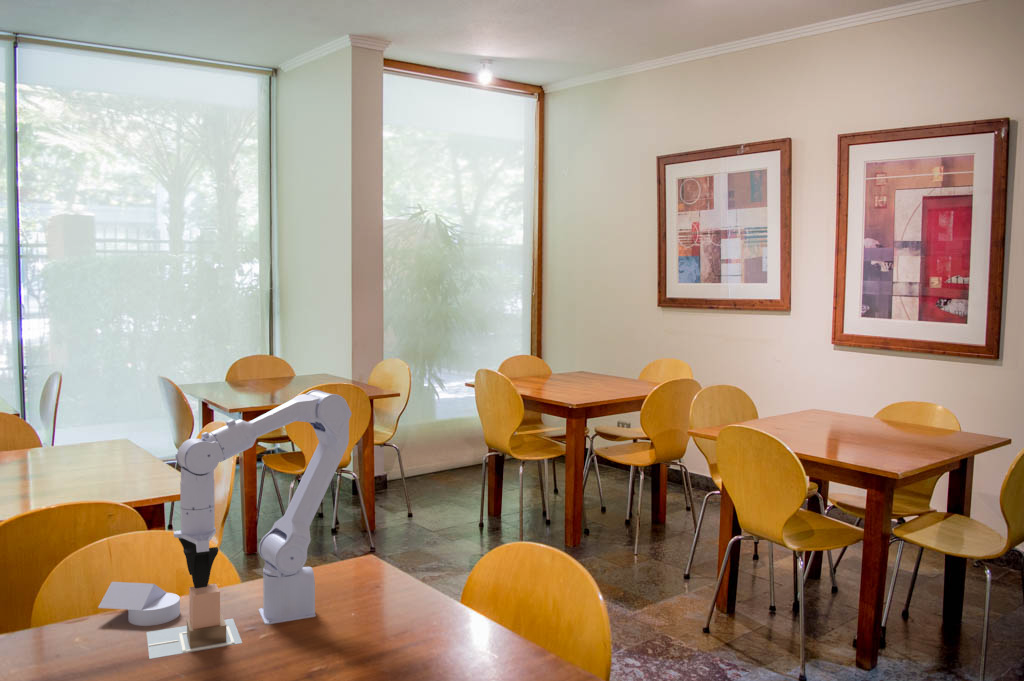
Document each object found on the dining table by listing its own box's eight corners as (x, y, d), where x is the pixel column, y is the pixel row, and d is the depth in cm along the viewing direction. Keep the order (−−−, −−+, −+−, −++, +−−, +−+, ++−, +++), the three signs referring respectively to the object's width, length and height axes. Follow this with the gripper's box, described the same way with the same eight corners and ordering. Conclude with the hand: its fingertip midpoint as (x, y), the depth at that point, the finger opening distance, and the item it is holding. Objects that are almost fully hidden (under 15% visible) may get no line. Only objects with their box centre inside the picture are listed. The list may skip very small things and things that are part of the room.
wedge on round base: (98, 625, 151) (164, 629, 150) (97, 590, 151) (164, 593, 149) (125, 607, 160) (188, 610, 159) (125, 573, 159) (188, 576, 158)
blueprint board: (233, 620, 154) (232, 617, 154) (242, 645, 143) (242, 642, 143) (146, 634, 147) (146, 631, 147) (149, 661, 136) (149, 657, 136)
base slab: (222, 629, 149) (221, 613, 149) (226, 642, 143) (226, 625, 143) (186, 635, 146) (186, 618, 146) (189, 648, 141) (189, 631, 140)
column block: (216, 615, 147) (215, 583, 147) (220, 624, 143) (219, 591, 143) (189, 620, 145) (189, 587, 145) (193, 629, 141) (192, 595, 141)
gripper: (169, 499, 150) (170, 571, 151) (177, 518, 138) (178, 597, 138) (210, 495, 154) (210, 565, 154) (221, 513, 141) (221, 590, 142)
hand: (198, 580), depth 147 cm, fingers open, 7 cm apart
